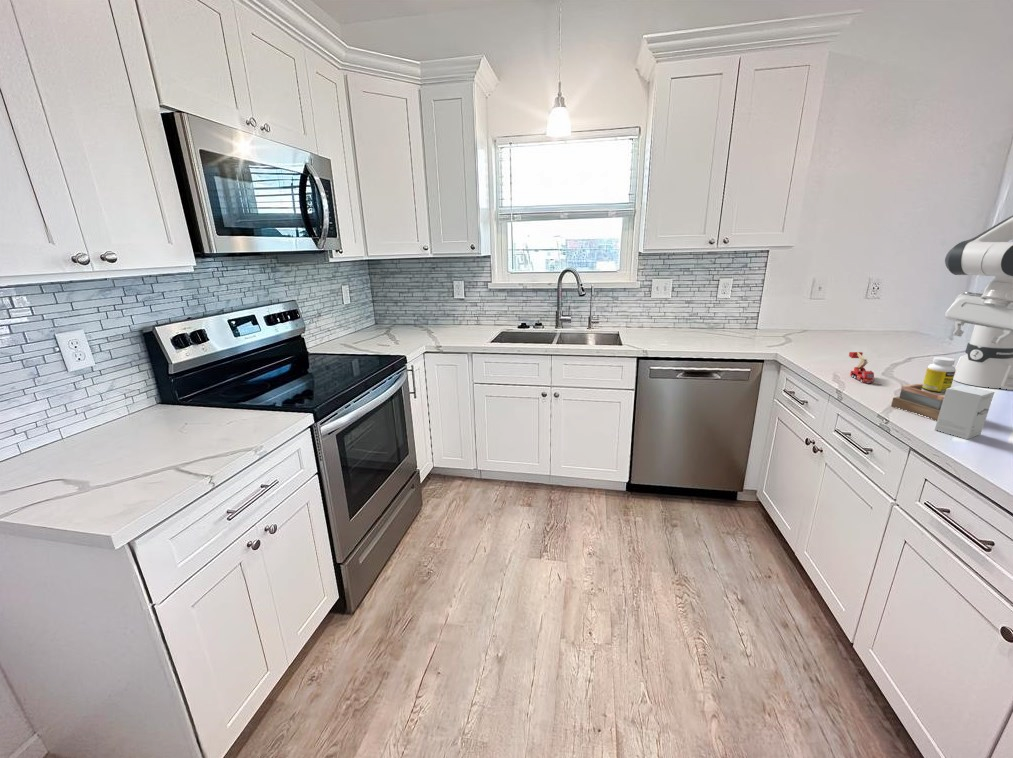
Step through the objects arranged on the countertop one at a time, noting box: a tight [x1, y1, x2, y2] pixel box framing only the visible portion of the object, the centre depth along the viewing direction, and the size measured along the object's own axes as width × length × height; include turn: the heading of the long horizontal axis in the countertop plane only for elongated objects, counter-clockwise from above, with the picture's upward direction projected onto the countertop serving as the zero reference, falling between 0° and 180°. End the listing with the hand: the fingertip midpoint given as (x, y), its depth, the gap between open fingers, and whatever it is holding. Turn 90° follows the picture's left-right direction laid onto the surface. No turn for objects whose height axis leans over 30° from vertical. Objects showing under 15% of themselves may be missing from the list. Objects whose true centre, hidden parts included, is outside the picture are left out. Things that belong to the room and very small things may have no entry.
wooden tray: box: [890, 383, 945, 422], centre depth 136 cm, size 13×13×7 cm
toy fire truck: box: [848, 351, 875, 384], centre depth 169 cm, size 3×14×10 cm, turn 168°
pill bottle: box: [922, 356, 956, 395], centre depth 134 cm, size 6×6×11 cm
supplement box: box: [934, 384, 995, 440], centre depth 120 cm, size 7×7×13 cm
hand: (975, 339), depth 133 cm, fingers open, 8 cm apart
